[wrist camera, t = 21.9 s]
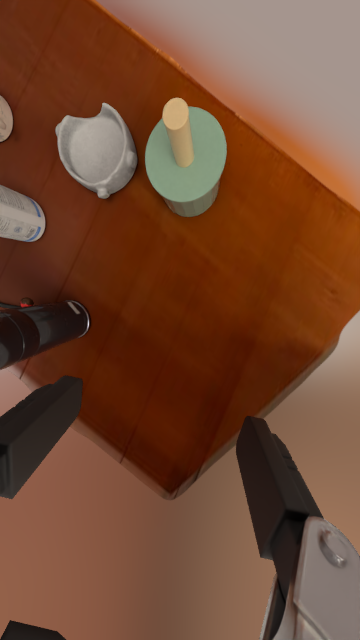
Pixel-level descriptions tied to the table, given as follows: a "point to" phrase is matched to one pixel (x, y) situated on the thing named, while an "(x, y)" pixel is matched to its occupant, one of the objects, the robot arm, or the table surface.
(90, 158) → the dish
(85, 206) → the table surface
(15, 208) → the supplement tub
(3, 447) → the robot arm
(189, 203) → the canister
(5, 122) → the teacup with lid
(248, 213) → the table surface
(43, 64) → the table surface
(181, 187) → the lid
